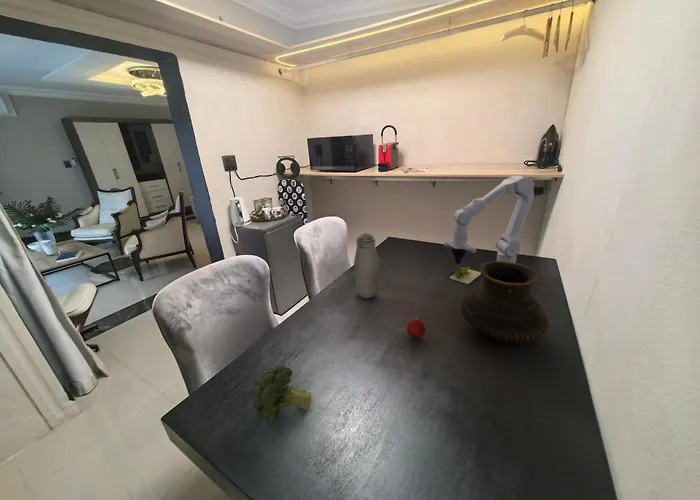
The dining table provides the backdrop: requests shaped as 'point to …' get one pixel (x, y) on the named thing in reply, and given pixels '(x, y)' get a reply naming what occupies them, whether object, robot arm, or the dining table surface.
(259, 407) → the vegetable
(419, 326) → the onion
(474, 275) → the felt mat
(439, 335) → the dining table surface
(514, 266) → the ceramic pot
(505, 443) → the dining table surface
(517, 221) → the robot arm
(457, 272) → the figurine
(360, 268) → the glass bottle
